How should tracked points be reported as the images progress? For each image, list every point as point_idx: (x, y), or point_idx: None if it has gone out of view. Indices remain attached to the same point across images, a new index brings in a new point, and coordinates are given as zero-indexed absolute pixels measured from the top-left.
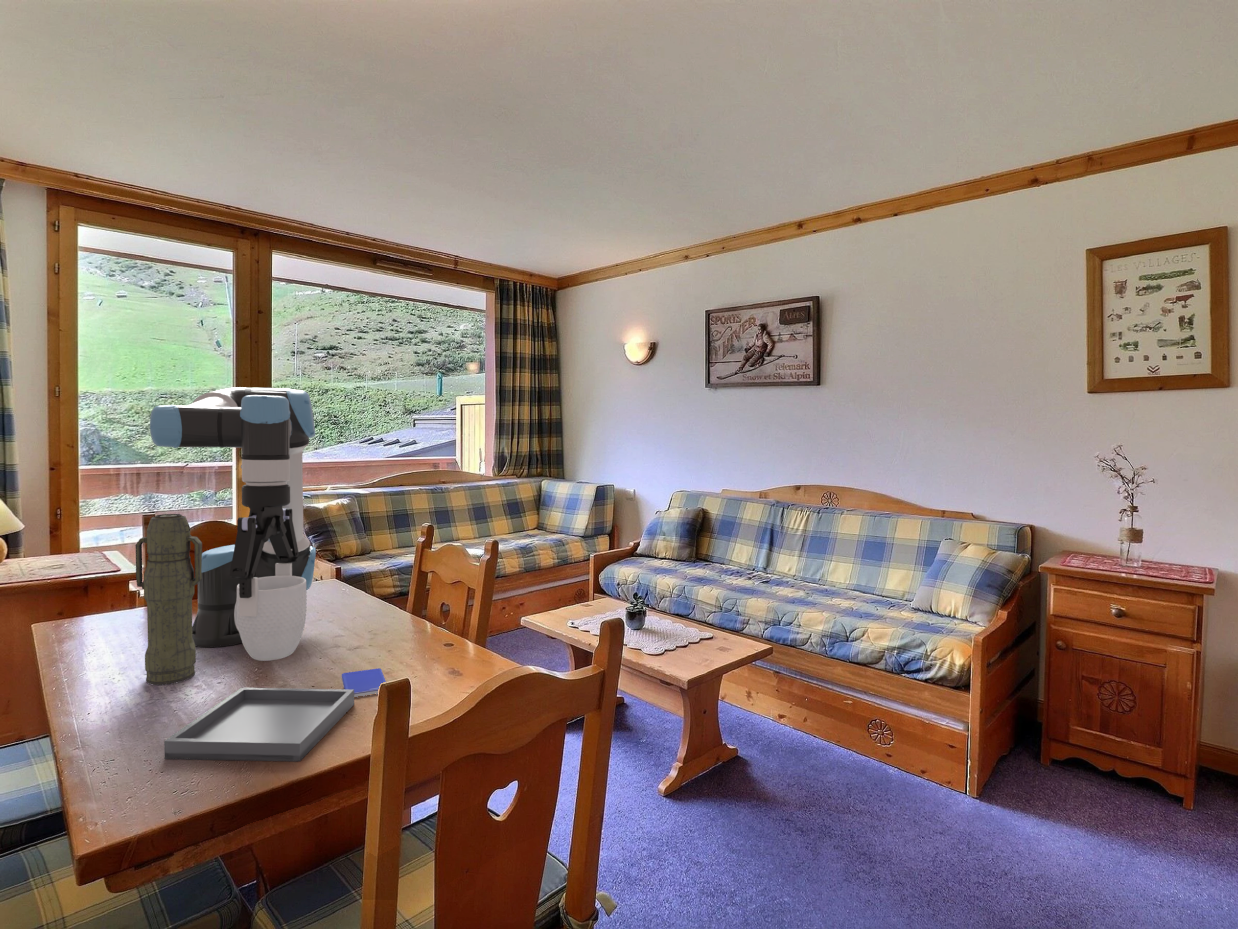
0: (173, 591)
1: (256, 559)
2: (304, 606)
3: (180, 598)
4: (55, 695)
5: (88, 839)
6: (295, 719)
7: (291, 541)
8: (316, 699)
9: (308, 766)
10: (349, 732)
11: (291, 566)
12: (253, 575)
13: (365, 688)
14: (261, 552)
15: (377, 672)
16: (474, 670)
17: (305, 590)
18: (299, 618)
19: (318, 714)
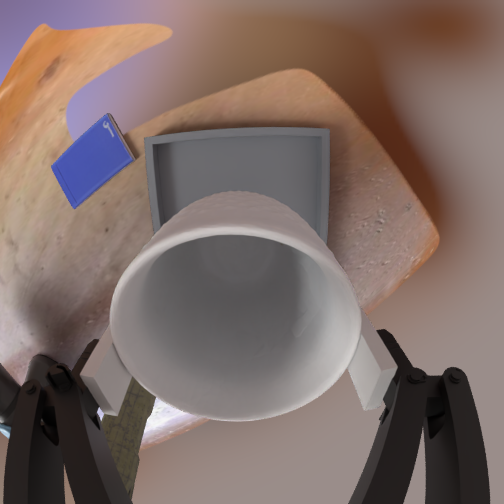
0: (122, 456)
1: (410, 436)
2: (220, 198)
3: (117, 444)
4: (198, 425)
5: (430, 251)
6: (223, 185)
7: (34, 449)
8: (160, 190)
9: (332, 115)
10: (239, 101)
11: (87, 366)
12: (414, 374)
13: (111, 144)
14: (374, 473)
15: (62, 161)
16: (46, 52)
17: (195, 217)
18: (249, 194)
19: (203, 162)
